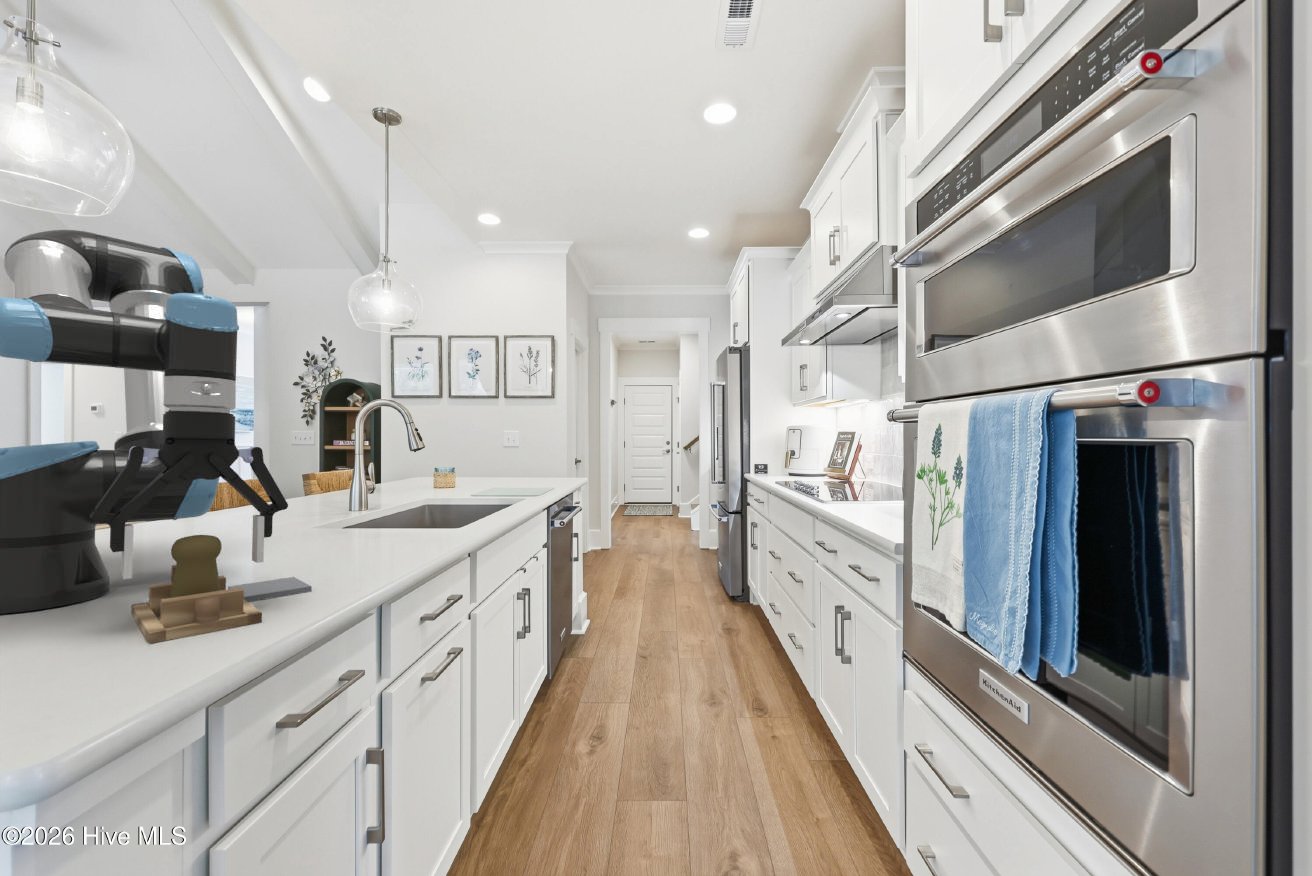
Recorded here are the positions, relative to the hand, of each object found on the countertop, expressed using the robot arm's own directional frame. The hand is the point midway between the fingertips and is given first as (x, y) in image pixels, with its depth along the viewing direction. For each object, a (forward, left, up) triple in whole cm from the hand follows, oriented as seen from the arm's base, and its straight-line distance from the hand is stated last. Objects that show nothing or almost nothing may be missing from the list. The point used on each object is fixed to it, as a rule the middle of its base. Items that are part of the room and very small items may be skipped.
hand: (196, 569), depth 74 cm
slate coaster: (-9, +10, -7) cm, 15 cm away
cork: (0, 0, -7) cm, 7 cm away
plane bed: (0, 0, -7) cm, 7 cm away
